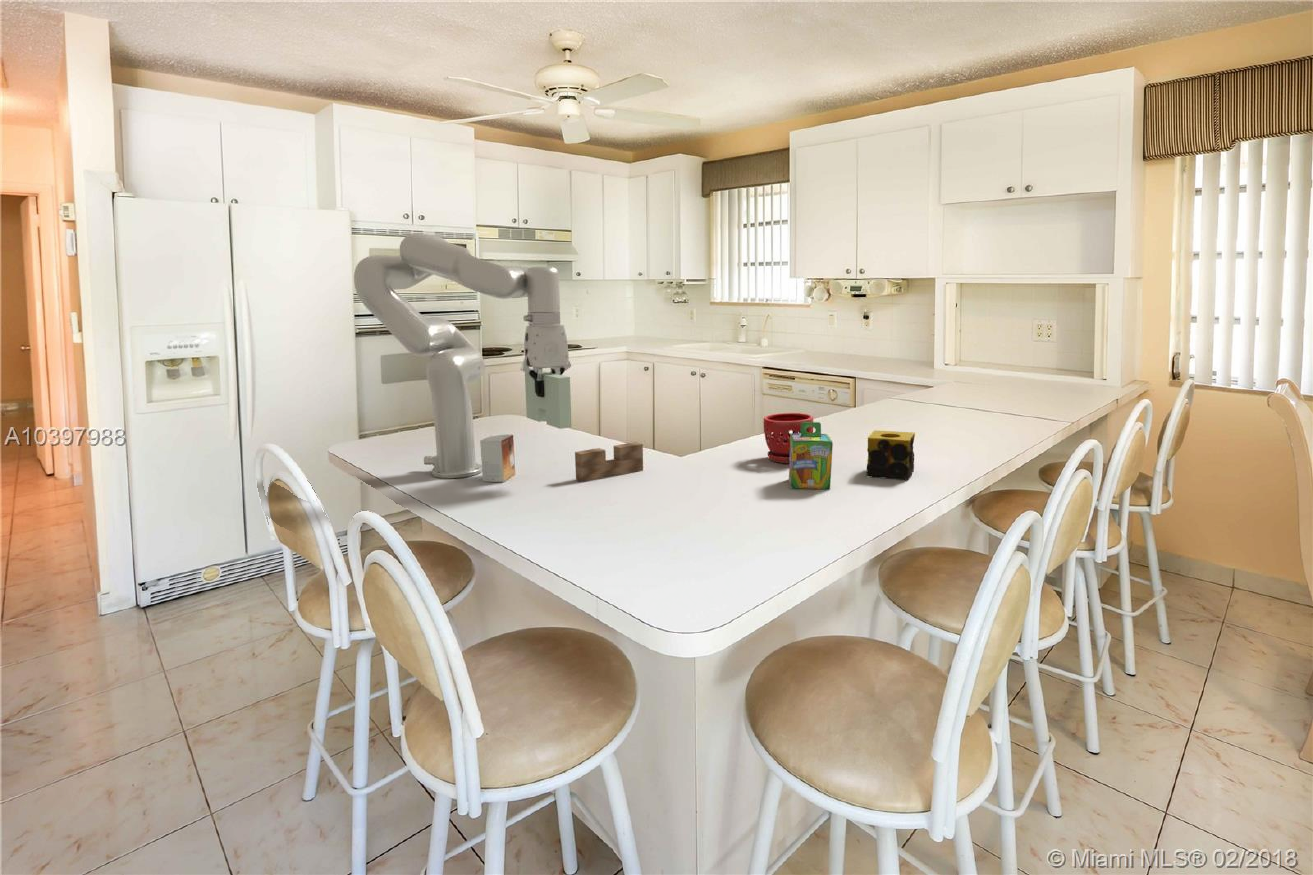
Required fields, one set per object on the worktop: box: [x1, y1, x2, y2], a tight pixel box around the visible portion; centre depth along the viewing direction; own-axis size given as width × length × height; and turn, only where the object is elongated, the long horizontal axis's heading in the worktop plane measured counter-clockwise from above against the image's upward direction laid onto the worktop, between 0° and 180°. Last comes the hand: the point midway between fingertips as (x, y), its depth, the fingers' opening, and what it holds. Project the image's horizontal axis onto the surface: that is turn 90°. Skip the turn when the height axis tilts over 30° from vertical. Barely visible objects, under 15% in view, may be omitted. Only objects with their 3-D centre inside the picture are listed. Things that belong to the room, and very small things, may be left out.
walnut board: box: [574, 441, 644, 483], centre depth 185 cm, size 18×3×7 cm, turn 125°
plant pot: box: [763, 412, 814, 465], centre depth 198 cm, size 13×13×12 cm
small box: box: [479, 433, 516, 483], centre depth 184 cm, size 8×6×10 cm
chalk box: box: [788, 421, 834, 490], centre depth 173 cm, size 9×9×15 cm
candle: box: [866, 430, 916, 481], centre depth 182 cm, size 10×10×10 cm
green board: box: [524, 370, 572, 430], centre depth 180 cm, size 18×3×12 cm, turn 35°
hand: (547, 395), depth 180 cm, fingers closed on green board, 3 cm apart
